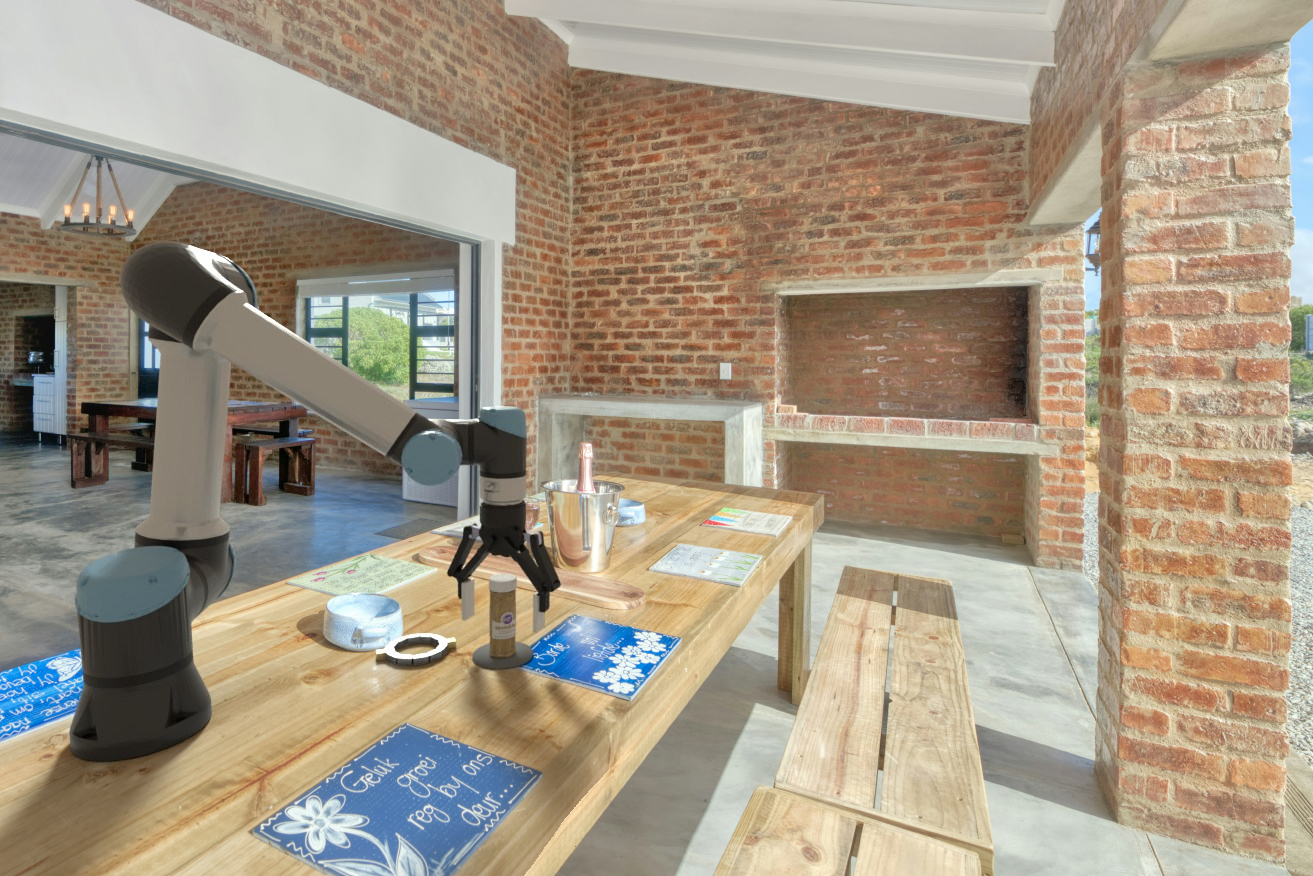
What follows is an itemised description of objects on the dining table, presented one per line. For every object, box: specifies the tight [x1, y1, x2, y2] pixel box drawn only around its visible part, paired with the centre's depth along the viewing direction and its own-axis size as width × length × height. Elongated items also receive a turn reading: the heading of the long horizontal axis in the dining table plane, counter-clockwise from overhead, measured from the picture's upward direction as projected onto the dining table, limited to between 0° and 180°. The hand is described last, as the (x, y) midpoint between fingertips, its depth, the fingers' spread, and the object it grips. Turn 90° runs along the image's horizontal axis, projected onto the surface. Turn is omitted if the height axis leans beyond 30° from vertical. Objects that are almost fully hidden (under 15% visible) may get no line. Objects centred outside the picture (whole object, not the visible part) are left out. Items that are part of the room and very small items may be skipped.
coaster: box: [472, 641, 534, 670], centre depth 116 cm, size 10×10×1 cm
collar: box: [375, 632, 457, 667], centre depth 116 cm, size 13×10×1 cm
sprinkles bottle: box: [488, 573, 518, 658], centre depth 115 cm, size 5×5×13 cm
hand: (502, 623), depth 115 cm, fingers open, 13 cm apart
